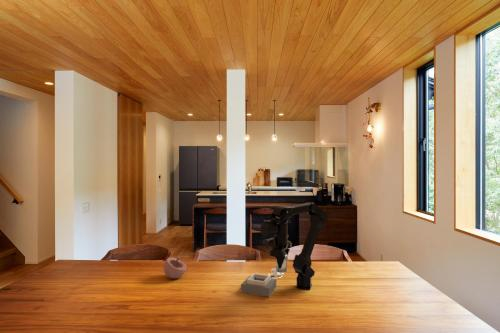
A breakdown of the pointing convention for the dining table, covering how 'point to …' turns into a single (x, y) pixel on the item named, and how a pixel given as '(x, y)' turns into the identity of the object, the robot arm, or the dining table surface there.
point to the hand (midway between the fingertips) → (281, 266)
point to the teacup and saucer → (276, 273)
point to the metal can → (284, 266)
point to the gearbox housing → (259, 285)
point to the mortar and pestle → (174, 267)
